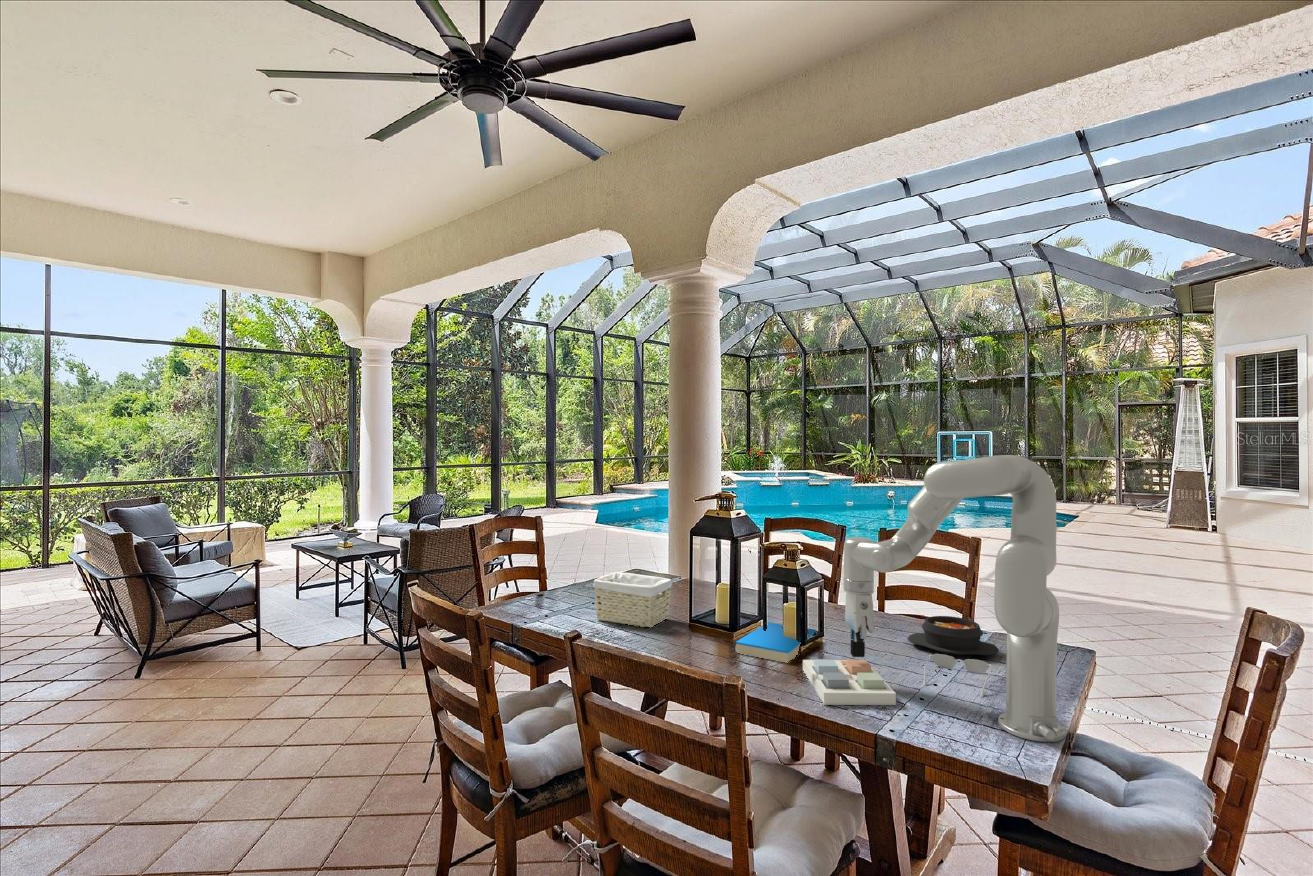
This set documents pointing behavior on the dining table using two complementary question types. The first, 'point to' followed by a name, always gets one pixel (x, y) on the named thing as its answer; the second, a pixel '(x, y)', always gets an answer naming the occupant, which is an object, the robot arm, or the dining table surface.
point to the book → (769, 644)
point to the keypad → (851, 695)
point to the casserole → (952, 636)
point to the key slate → (835, 680)
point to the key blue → (825, 666)
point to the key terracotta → (858, 666)
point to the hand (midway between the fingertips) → (857, 655)
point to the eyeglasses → (969, 664)
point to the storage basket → (632, 598)
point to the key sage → (870, 681)
